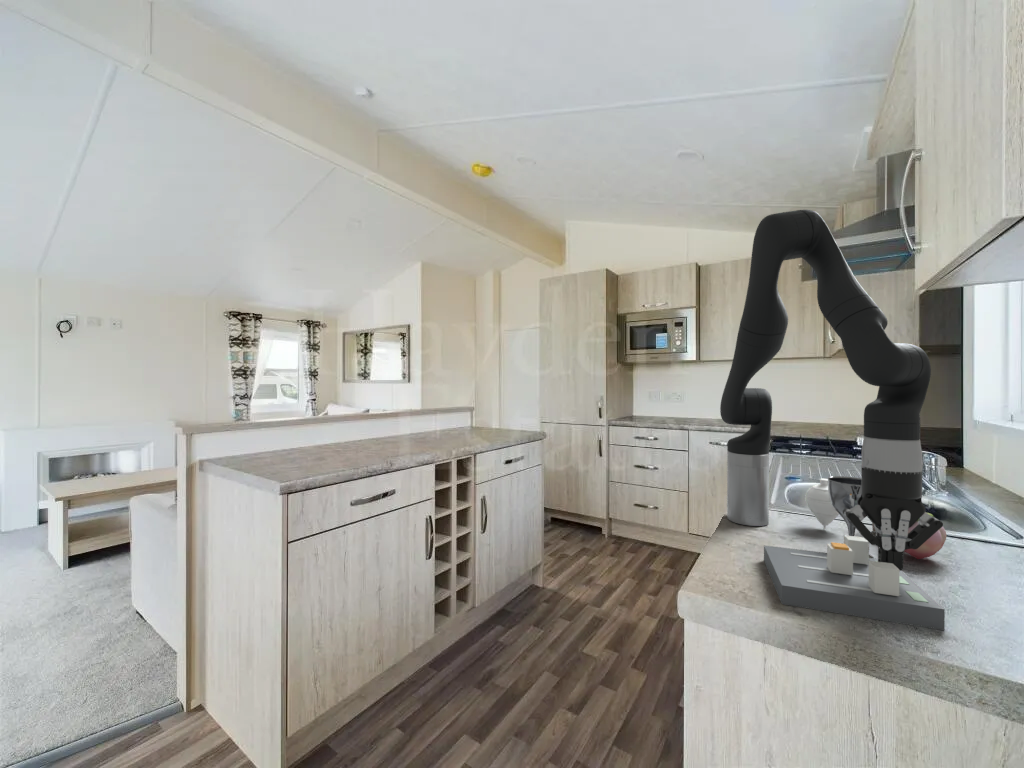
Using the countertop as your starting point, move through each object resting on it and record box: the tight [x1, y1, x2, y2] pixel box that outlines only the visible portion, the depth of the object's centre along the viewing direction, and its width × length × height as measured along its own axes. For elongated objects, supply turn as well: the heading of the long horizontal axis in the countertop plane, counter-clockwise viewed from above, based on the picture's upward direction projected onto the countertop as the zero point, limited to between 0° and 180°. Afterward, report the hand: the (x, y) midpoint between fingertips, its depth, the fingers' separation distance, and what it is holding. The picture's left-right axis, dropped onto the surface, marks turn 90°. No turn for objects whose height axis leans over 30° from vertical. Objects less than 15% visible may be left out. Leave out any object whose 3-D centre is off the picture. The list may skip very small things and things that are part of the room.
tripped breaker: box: [826, 541, 853, 575], centre depth 75 cm, size 2×3×4 cm
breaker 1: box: [843, 534, 870, 565], centre depth 79 cm, size 2×3×4 cm
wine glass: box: [827, 475, 875, 559], centre depth 90 cm, size 8×8×15 cm
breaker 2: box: [869, 561, 900, 596], centre depth 68 cm, size 2×3×4 cm
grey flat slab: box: [763, 545, 946, 631], centre depth 75 cm, size 18×20×3 cm
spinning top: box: [804, 478, 840, 530], centre depth 104 cm, size 8×8×12 cm
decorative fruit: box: [903, 511, 947, 560], centre depth 88 cm, size 9×8×10 cm
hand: (890, 571), depth 72 cm, fingers closed
